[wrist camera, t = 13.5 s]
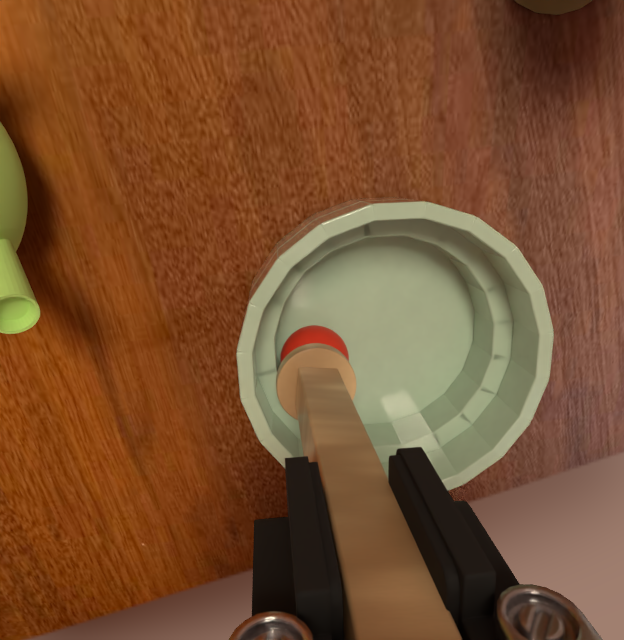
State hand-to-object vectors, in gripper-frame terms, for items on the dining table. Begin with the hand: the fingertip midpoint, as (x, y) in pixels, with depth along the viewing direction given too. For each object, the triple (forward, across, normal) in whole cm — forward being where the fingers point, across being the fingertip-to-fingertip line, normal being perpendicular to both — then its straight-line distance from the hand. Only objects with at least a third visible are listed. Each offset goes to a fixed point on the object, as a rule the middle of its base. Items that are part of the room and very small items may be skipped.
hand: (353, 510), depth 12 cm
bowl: (+13, -3, 0) cm, 13 cm away
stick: (+9, 0, +1) cm, 9 cm away
